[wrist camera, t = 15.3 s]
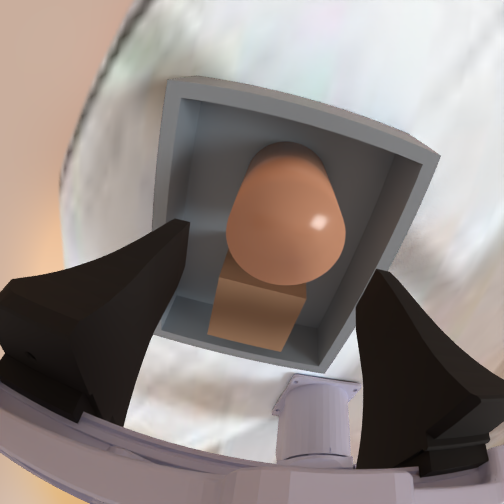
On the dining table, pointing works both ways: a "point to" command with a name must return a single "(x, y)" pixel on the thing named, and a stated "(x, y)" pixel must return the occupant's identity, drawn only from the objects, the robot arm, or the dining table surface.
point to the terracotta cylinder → (286, 217)
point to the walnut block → (254, 308)
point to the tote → (228, 184)
